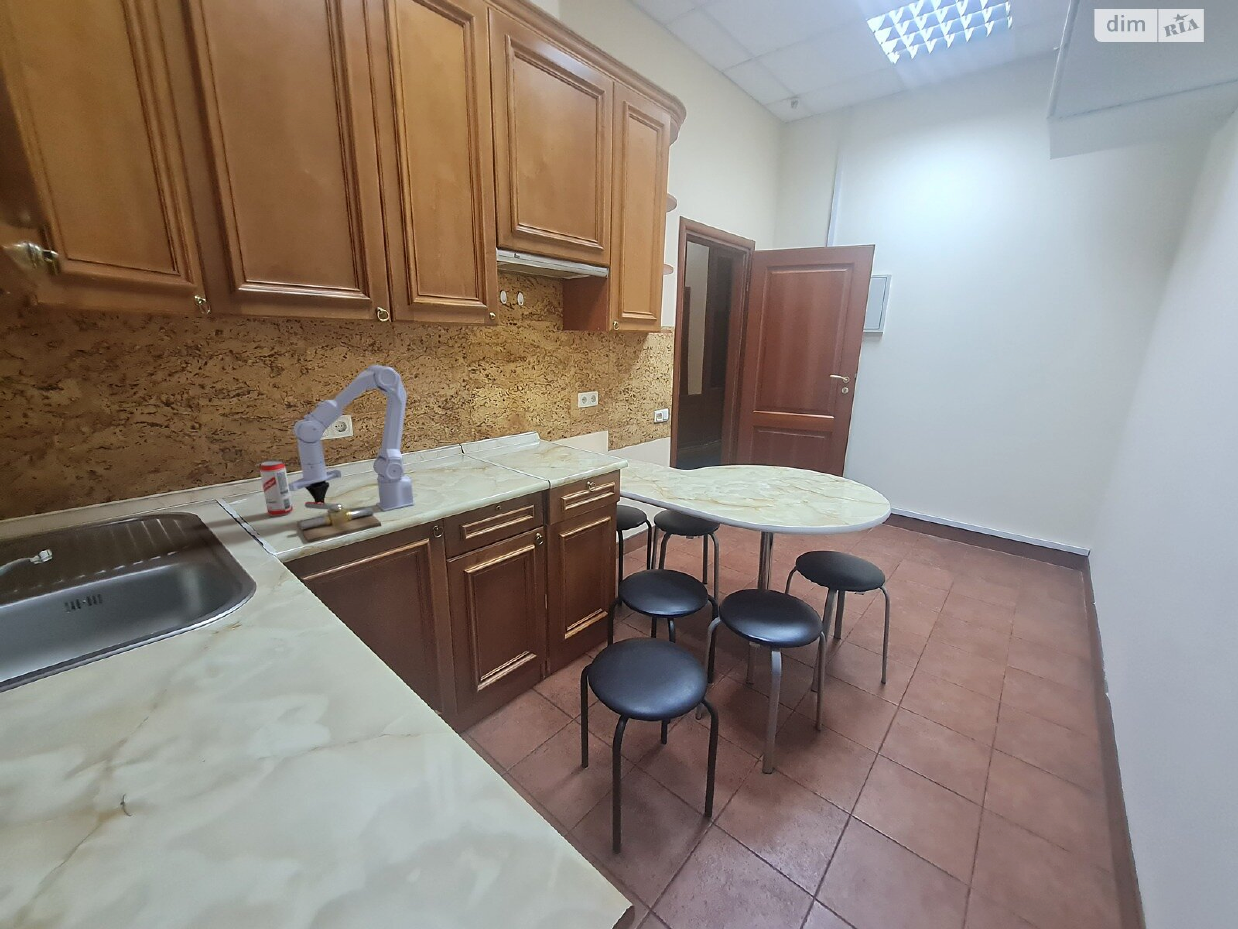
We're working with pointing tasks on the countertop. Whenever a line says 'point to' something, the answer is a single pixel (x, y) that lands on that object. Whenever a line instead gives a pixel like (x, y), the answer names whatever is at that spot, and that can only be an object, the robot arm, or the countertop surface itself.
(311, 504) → the valve lever
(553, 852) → the countertop surface
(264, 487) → the beer can
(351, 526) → the walnut board
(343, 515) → the valve body
